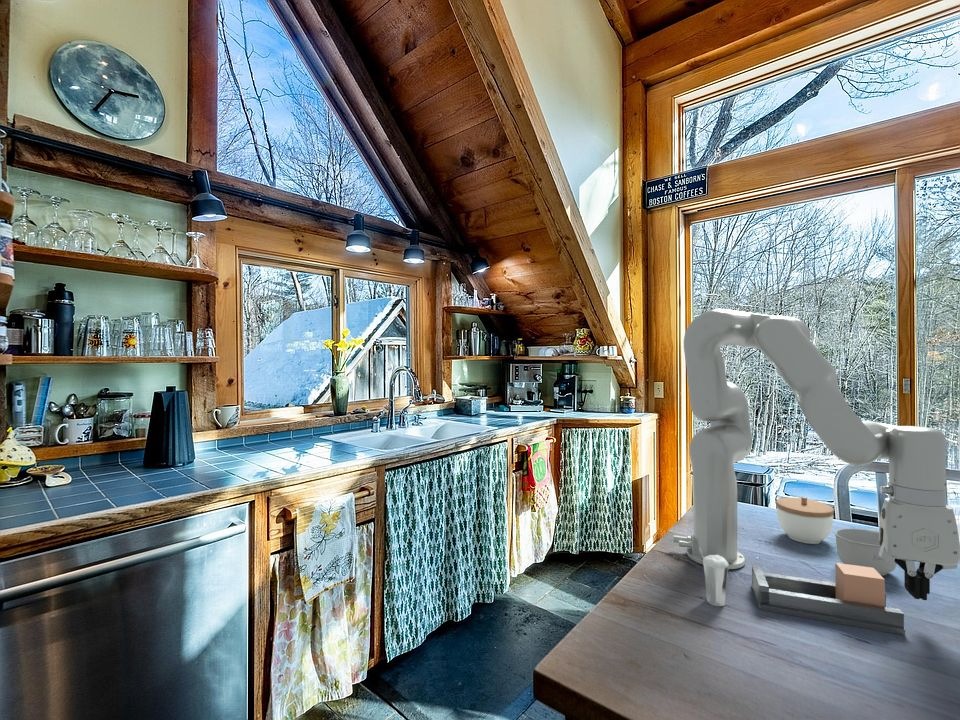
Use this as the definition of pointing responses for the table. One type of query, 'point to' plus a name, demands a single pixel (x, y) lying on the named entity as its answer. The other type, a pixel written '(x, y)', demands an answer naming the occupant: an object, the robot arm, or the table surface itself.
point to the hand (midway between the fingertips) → (916, 595)
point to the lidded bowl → (805, 519)
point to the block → (859, 584)
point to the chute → (820, 602)
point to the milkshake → (715, 578)
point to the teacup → (862, 549)
